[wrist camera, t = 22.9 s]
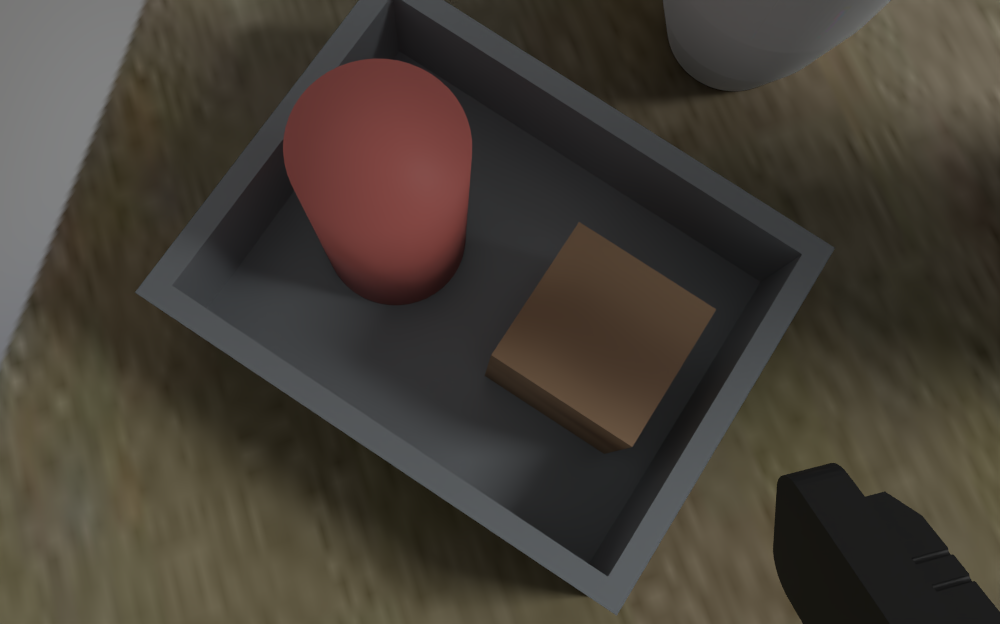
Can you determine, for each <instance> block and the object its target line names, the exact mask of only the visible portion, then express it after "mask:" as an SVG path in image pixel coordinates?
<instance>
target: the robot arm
mask: <svg viewBox="0 0 1000 624" xmlns="http://www.w3.org/2000/svg"><path fill="white" fill-rule="evenodd" d="M773 554H774V561H775V566H776V570H777V573H778V576H779V579H780V582H781V584H782V587H783V589H784V591H785V593H786V595H787V597H788V599H789V600H790V602H791V604H792V606H793V607H794V609H795V611H796V612H797V614H798V616H799V618H800V619H801V621H802V623H803V624H1000V612H999V610H998V609H997V608H996V607H995V605H994V604H993V603H992V602H991V601H990V599H989V598H988V597H987V596H986V594H985V593H984V592H983V591H982V589H981V588H980V587H979V586H978V584H977V583H976V582H975V581H973V582H972V581H971V579H970V577H969V573H968V572H967V571H966V570H965V568H964V567H963V566H962V565H961V563H960V562H959V561H958V560H957V558H956V557H955V556H954V555H950V553H949V551H948V547H947V546H946V545H945V544H944V542H943V541H942V540H941V539H940V537H939V536H938V535H937V534H936V532H935V531H934V530H933V529H932V528H931V526H930V525H929V524H928V523H927V521H926V520H925V519H924V518H923V516H922V515H920V514H918V513H917V512H915V511H914V510H912V509H911V508H909V507H908V506H906V505H905V504H903V503H902V502H900V501H899V500H897V499H896V498H894V497H892V496H891V495H889V494H888V493H886V492H882V493H878V494H874V495H870V496H866V497H865V496H864V495H863V494H862V492H861V491H860V490H859V488H858V487H857V486H856V484H855V483H854V482H853V480H852V479H851V478H850V476H849V475H848V474H847V473H846V471H845V470H844V469H843V468H842V467H841V466H839V465H838V464H835V463H830V464H826V465H822V466H818V467H814V468H810V469H806V470H803V471H799V472H795V473H791V474H787V475H783V476H781V477H780V478H779V479H778V483H777V494H776V510H775V527H774V543H773Z"/></svg>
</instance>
